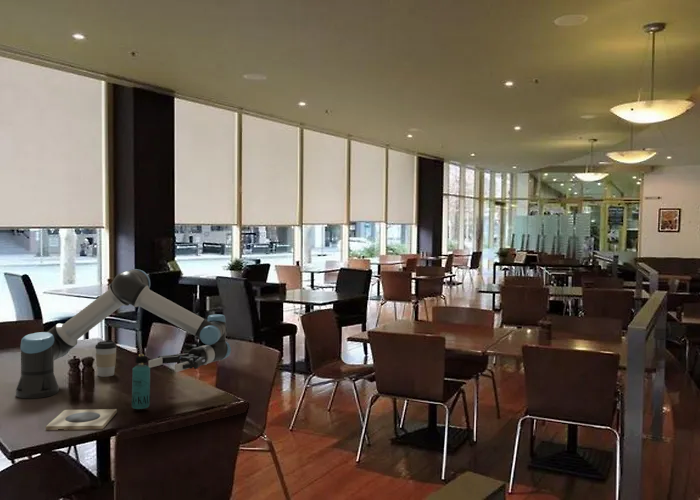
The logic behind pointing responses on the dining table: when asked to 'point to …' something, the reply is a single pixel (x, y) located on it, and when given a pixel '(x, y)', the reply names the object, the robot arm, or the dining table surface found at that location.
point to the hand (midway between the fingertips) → (162, 366)
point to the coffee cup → (105, 358)
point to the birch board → (82, 419)
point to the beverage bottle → (141, 384)
